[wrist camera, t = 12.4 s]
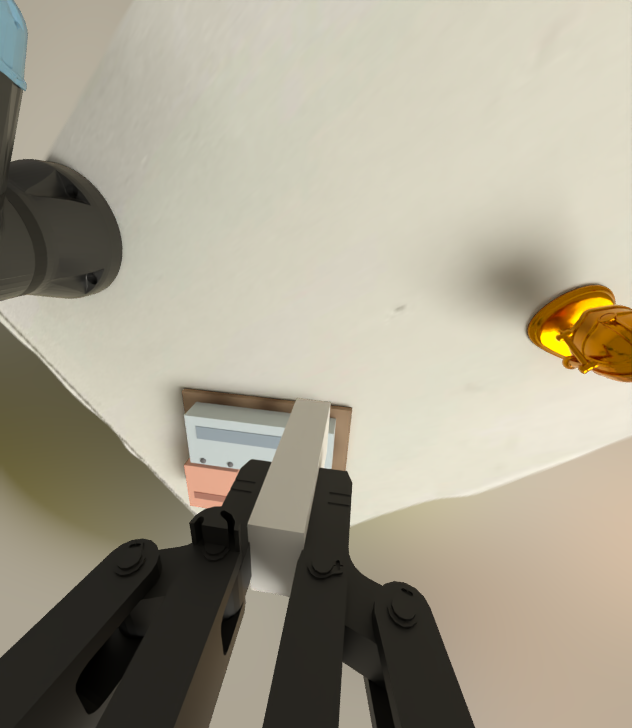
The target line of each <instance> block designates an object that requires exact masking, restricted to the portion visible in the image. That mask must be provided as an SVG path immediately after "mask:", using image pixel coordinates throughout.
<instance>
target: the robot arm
mask: <svg viewBox="0 0 632 728" xmlns="http://www.w3.org/2000/svg"><path fill="white" fill-rule="evenodd" d="M27 36H28V33H27V27H26V23H25V20H24V18H23V16H22V13H21V11H20V10H19V8H18V7H17V5H16V3H15V2H14V0H0V301H2V300H6V299H10V298H14V297H18V296H23V295H35V296H46V297H56V298H68V299H72V298H81V297H85V296H89V295H92V294H96V293H98V292H101V291H102V290H104V289H106V288H107V287H108V286H109V285H110V284H111V283H112V282H113V281H114V279H115V278H116V276H117V274H118V272H119V269H120V266H121V261H122V241H121V235H120V231H119V227H118V224H117V222H116V219H115V217H114V215H113V212H112V211H111V209H110V207H109V205H108V204H107V202H106V201H105V199H104V198H103V196H102V195H101V194H100V192H99V191H98V190H97V189H96V188H95V187H94V186H93V185H92V184H91V183H90V182H89V181H88V180H87V179H86V178H84V177H83V176H82V175H80V174H79V173H77V172H76V171H74V170H72V169H70V168H68V167H66V166H63V165H61V164H57V163H53V162H47V161H41V160H34V159H23V160H17V161H13V162H10V161H11V156H12V151H13V145H14V139H15V133H16V128H17V122H18V116H19V110H20V105H21V99H22V93H23V90H24V91H26V88H27V86H26V82H25V81H24V69H25V59H26V47H27V38H28V37H27ZM330 404H331V402H326V401H317V400H308V399H300V398H297V399H296V401H295V404H294V407H293V409H292V412H291V414H290V417H289V419H288V422H287V424H286V427H285V429H284V432H283V435H282V437H281V440H280V442H279V445H278V447H277V450H276V452H275V455H274V457H273V460H272V462H270V461H263V460H255V459H251V460H249V461H248V462H247V463H246V464H245V465H244V466H242V467H241V469H240V471H239V473H238V475H237V477H236V478H235V481H234V482H233V484H232V486H231V488H230V491H229V492H228V494H227V496H226V498H225V500H224V502H223V504H222V506H214V507H211V508H207V509H204V510H203V511H201V512H200V513H198V514H197V515H195V517H194V518H193V519H192V520H191V521H190V523H189V524H190V529H191V536H192V543H191V544H189V545H185V546H181V547H175V548H168V549H162V550H158V547H157V545H156V544H155V543H154V542H152V541H151V540H147V539H136V540H131V541H129V542H127V543H124V544H122V545H120V546H119V547H118V548H116V549H115V550H114V551H112V552H111V553H110V554H109V555H108V556H107V557H106V558H105V559H104V560H103V561H102V562H101V563H100V564H99V565H98V566H97V567H95V568H94V569H93V570H92V571H91V572H90V573H89V574H88V575H87V576H86V577H85V578H84V579H83V580H82V581H81V582H80V583H79V584H78V585H77V586H75V587H74V588H73V589H72V590H71V591H70V592H69V593H68V594H67V595H66V596H65V597H64V598H63V599H62V600H61V601H60V602H59V603H58V604H57V605H56V606H55V607H54V608H52V609H51V610H50V611H49V612H48V613H47V614H46V615H45V616H44V617H43V618H42V619H41V620H40V621H39V622H38V623H37V624H36V625H35V626H33V628H31V629H30V630H29V631H28V632H27V633H26V634H25V635H24V636H23V637H22V638H21V639H20V640H19V641H18V642H17V643H16V644H15V645H13V647H11V648H10V650H8V651H7V652H6V653H5V654H4V655H3V656H2V657H1V658H0V728H209V724H210V721H211V718H212V715H213V712H214V708H215V705H216V702H217V698H218V695H219V692H220V689H221V686H222V682H223V679H224V676H225V673H226V670H227V666H228V663H229V660H230V657H231V653H232V650H233V647H234V644H235V641H236V637H237V634H238V631H239V628H240V624H241V621H242V618H243V615H244V611H245V595H246V592H247V589H248V586H249V583H250V581H251V590H256V591H261V592H266V593H272V594H277V595H283V596H288V597H290V598H289V603H288V608H287V613H286V617H285V622H284V628H283V632H282V637H281V641H280V646H279V651H278V656H277V661H276V665H275V670H274V675H273V680H272V685H271V690H270V694H269V699H268V704H267V708H266V713H265V718H264V723H263V727H262V728H338V726H339V708H340V693H341V692H340V691H341V676H342V662H344V663H345V664H347V665H348V666H350V667H351V668H353V669H354V670H356V671H357V672H359V673H360V674H362V675H363V676H364V682H365V688H366V693H367V699H368V705H369V710H370V716H371V722H372V727H373V728H475V726H474V724H473V721H472V718H471V716H470V713H469V711H468V707H467V705H466V702H465V699H464V697H463V694H462V691H461V689H460V686H459V683H458V681H457V678H456V675H455V673H454V670H453V667H452V665H451V662H450V660H449V657H448V654H447V651H446V649H445V646H444V644H443V641H442V638H441V635H440V633H439V630H438V627H437V625H436V622H435V619H434V617H433V614H432V611H431V609H430V607H429V605H428V603H427V601H426V600H425V598H424V596H423V595H421V593H420V592H419V591H418V590H417V589H416V588H414V587H412V586H410V585H408V584H406V583H404V582H396V581H393V582H390V583H386V584H384V585H383V586H382V585H380V584H378V583H376V582H374V581H372V580H370V579H369V578H367V577H366V576H364V575H363V574H361V573H360V572H359V571H358V570H357V569H356V568H355V566H354V564H353V563H352V561H351V559H350V556H349V548H348V545H349V528H350V511H351V495H352V481H351V479H350V477H349V475H348V472H347V471H341V470H334V469H327V468H324V465H325V460H326V454H327V443H328V430H329V417H330Z"/></svg>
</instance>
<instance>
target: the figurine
mask: <svg viewBox="0 0 632 728" xmlns="http://www.w3.org/2000/svg"><path fill="white" fill-rule="evenodd" d="M527 333H528V336H529V338H530V340H531V341H532V342H533V343H534V344H535V345H536V346H538V347H539V348H541V349H543V350H545V351H546V352H548V353H550V354H553V355H555V356H557V357H559V358H562V359H563V361H562V364H563V366H564V367H565V368H567V369H575V368H578V370H579V371H580V372H581V373H583V374H586V373H587V372H589V371H593V372H594V373H596V374H598V375H601V376H604V377H606V378H609V379H612V380H615V381H620V382H632V309H631V308H629V307H626V306H623V305H616V303H615V297H614V295H613V293H612V291H611V290H610V289H609V288H607V287H605V286H602V285H588V286H583V287H580V288H577V289H574V290H571V291H569V292H567V293H565V294H563V295H561V296H559V297H557V298H556V299H554V300H553V301H551V302H550V303H548V304H547V305H545V306H544V307H543V308H542V309H541V310H540V311H538V312H537V314H536V315H535V316H534V317H533V318H532V320H531V321H530V323H529V325H528V329H527Z"/></svg>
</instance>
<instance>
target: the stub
mask: <svg viewBox="0 0 632 728" xmlns="http://www.w3.org/2000/svg"><path fill="white" fill-rule="evenodd" d="M184 468H185V474H186V481H187V487H188V494H189V500H190V506H196V507H202V508H211V507H214V506H222V504H223V502H224V500H225V498H226V496H227V494H228V492H229V491H230V488H231V486H232V484H233V482H234V481H235V478H236V477H237V475H238V473H239V471H240V469H233V468H226V467H219V466H212V465H205V464H198V463H191V462H190V458H189V459H188V460H187V462H186V463H185V464H184Z"/></svg>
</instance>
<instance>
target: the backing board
mask: <svg viewBox="0 0 632 728" xmlns="http://www.w3.org/2000/svg"><path fill="white" fill-rule="evenodd" d="M182 396H183V403H184V410H185V413H186V412H187V411H188V410H189V409H190V408H191V407H192V406H193V405H194V404H195V403H196V402H202V403H210V404H219V405H227V406H235V407H244V408H252V409H260V410H268V411H277V412H285V413H291V412H292V409H293V407H294V404H295V401H289V400H280V399H272V398H263V397H255V396H246V395H237V394H229V393H220V392H212V391H203V390H194V389H186V388H184V389H183V390H182ZM351 414H352V408H349V407H341V406H332V405H330V417H329V418H335V419H336V425H335V437H334V449H333V460H332V469H334V470H341V471H345V470H346V460H347V451H348V442H349V433H350V423H351Z"/></svg>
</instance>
